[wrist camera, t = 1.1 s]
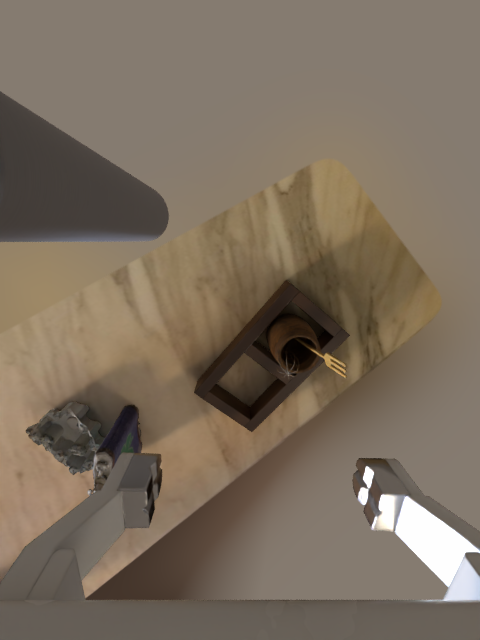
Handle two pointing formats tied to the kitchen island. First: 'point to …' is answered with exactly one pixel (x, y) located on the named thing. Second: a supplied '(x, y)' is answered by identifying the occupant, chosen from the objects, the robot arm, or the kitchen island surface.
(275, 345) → the utensil holder
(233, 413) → the rack
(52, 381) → the kitchen island surface
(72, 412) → the egg carton
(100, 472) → the flask
